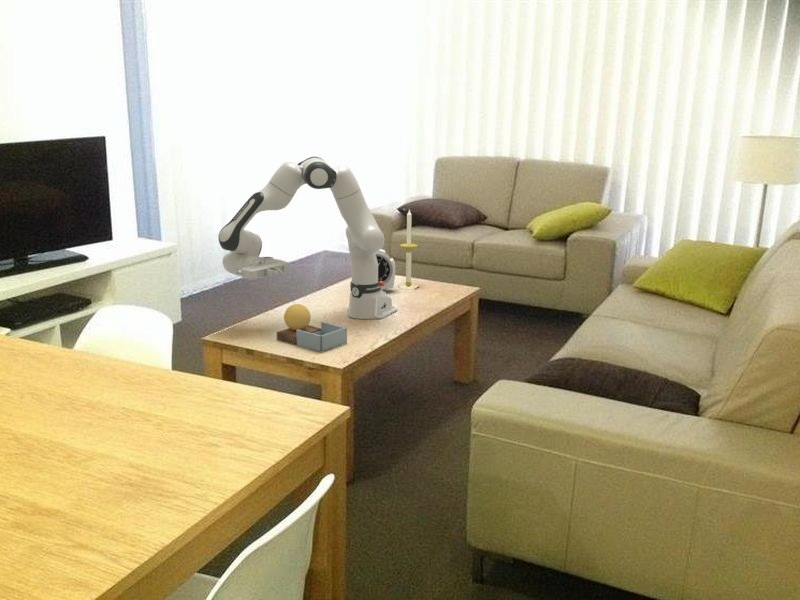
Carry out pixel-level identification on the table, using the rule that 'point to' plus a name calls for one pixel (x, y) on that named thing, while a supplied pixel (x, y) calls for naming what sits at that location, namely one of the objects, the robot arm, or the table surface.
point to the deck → (294, 334)
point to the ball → (297, 317)
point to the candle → (408, 249)
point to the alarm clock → (385, 269)
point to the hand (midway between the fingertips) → (279, 273)
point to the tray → (322, 337)
